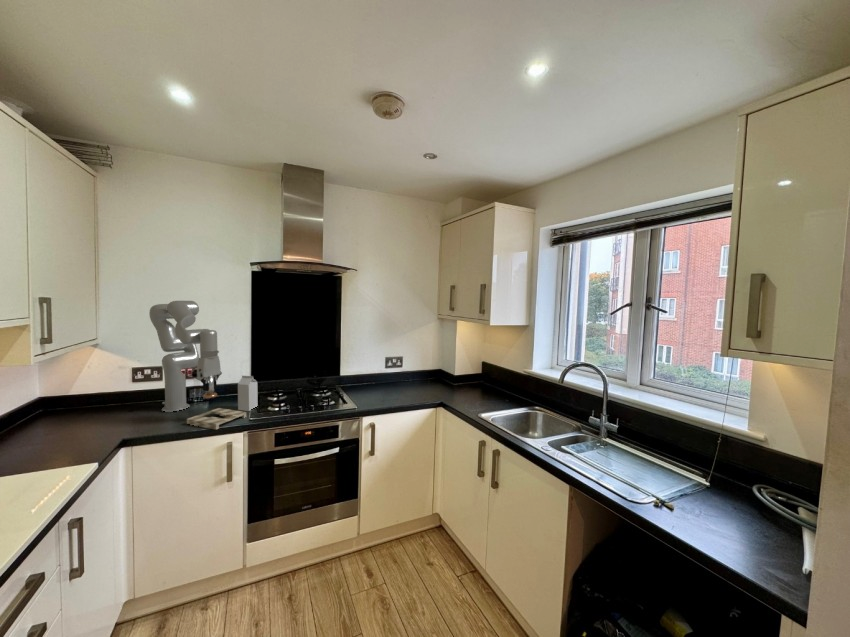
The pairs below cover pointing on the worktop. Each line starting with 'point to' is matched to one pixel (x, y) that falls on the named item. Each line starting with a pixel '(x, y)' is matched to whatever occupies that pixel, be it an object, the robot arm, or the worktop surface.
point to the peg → (210, 388)
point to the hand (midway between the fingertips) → (209, 389)
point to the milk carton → (247, 393)
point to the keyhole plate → (215, 418)
